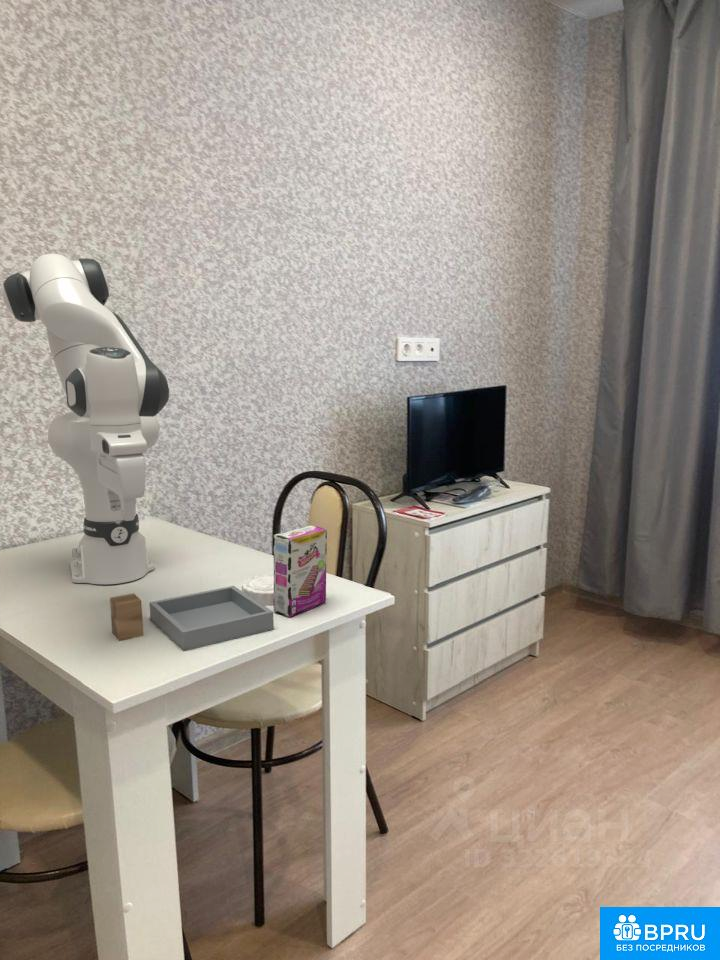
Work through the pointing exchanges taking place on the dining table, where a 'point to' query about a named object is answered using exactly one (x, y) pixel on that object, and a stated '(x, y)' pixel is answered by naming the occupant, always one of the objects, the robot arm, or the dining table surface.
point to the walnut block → (126, 616)
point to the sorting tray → (210, 617)
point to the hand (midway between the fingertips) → (121, 514)
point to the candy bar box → (299, 570)
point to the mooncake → (260, 589)
